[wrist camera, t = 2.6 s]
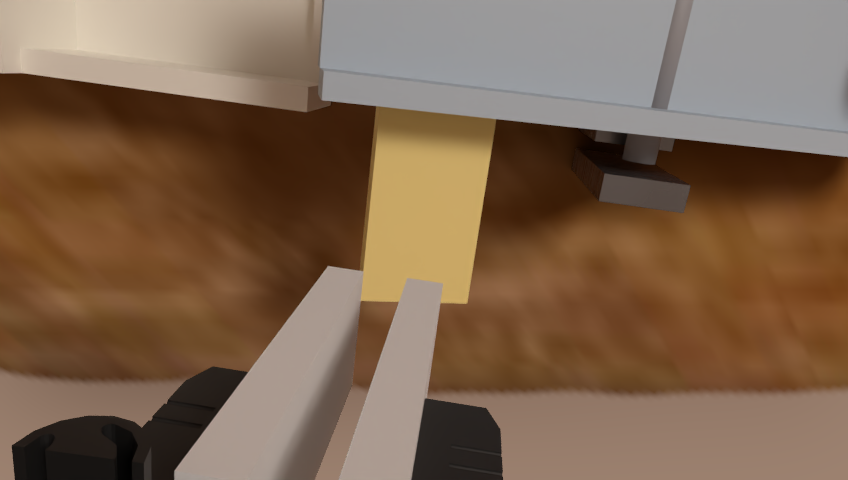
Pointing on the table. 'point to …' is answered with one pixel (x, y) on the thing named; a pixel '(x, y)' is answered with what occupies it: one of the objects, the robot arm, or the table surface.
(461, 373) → the table surface
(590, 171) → the fulcrum
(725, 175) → the table surface
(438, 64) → the lever
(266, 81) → the tray
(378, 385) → the robot arm
